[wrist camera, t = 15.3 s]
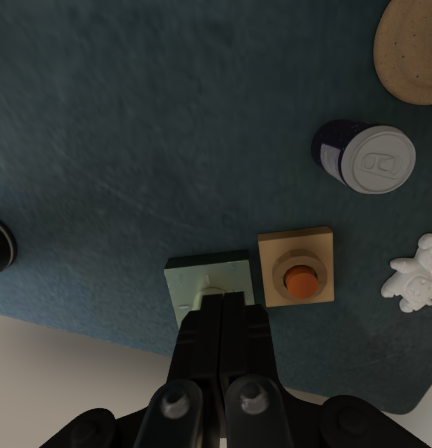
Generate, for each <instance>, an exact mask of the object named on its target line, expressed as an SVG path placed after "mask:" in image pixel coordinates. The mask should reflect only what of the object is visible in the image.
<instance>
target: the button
mask: <svg viewBox="0 0 432 448" xmlns="http://www.w3.org/2000/svg"><path fill="white" fill-rule="evenodd" d="M285 281H286V285H287V288H288V291H289V293H290V294H291V295H292V296H293V297H295V298H299V299H305V298H309V297H311V296H312V295H314V294H315V293H316V291H317V289H318V281H317V279H316V277H315V275H314V272H313V271H312V270H311V269H310V268H308V267H306V266H296V267H293V268H292V269H290V270H289V271H288V272H287V274H286V277H285Z"/></svg>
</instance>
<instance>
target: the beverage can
mask: <svg viewBox="0 0 432 448" xmlns="http://www.w3.org/2000/svg"><path fill="white" fill-rule="evenodd" d="M311 152H312V157H313V159H314V161H315V162H316V164H317V165H318V166H319V167H321V168H322V169H324V170H325V171H326V172H328V173H329V174H331V175H332V176H333V177H335V178H336V179H338V180H339V181H341V182H342V183H343V184H345V185H346V186H348V187H349V188H351V189H352V190H354V191H356V192H358V193H362V194H382V193H386V192H389V191H392V190H394V189H396V188H397V187H399V186H400V185H401V184H403V183H404V182H405V181H406V180H407V178H408V177H409V176H410V174H411V172H412V170H413V168H414V165H415V160H416V153H415V148H414V146H413V144H412V142H411V141H410V140H409V138H408V137H407V136H406V135H405V133H404V132H403V131H401V130H400V129H398V128H396V127H394V126H391V125H385V124H377V123H368V122H359V121H350V120H334V121H331V122H329V123H327V124H325V125H324V126H322V127H321V128H320V129H319V130H318V132H317V133H316V135H315V136H314V138H313V141H312V146H311Z"/></svg>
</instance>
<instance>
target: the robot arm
mask: <svg viewBox="0 0 432 448" xmlns="http://www.w3.org/2000/svg"><path fill="white" fill-rule="evenodd" d="M16 253H17V249H16V243H15V240H14V238H13V236H12V234H11V232H10V231H9V229H8V228H7V227H6V226H5V225H4V224H3V223H2V222H1V221H0V272H2V271H3V270H5V269H6V268H8V267H9V266H10V265H11V264H12V263H13V262H14V260H15V257H16ZM220 438H227V448H431V447H430V446H428V445H427V444H426V443H424V442H423V441H421V440H420V439H419V438H417V437H416V436H414V435H413V434H412V433H410V432H409V431H407V430H406V429H405V428H403V427H402V426H400V425H399V424H397V423H396V422H395V421H393V420H392V419H391V418H389V417H388V416H386V415H385V414H384V413H382V412H381V411H379V410H378V409H377V408H375V407H374V406H372V405H371V404H369V403H368V402H366V401H364V400H362V399H360V398H357V397H354V396H349V395H338V396H334V397H331V398H329V399H328V400H327V401H325V402H324V403H323V405H317V404H314V403H310V402H306V401H303V400H300V399H298V398H296V397H294V396H293V395H291V394H290V393H288V392H287V391H286V390H285V388H284V387H283V386H282V384H281V383H280V381H279V378H278V374H277V368H276V362H275V355H274V349H273V343H272V337H271V330H270V324H269V318H268V313H267V312H266V310H265V309H264V308H263V307H262V305H261V304H255V305H246V299H245V293H244V291H240V292H230V293H224V295H223V293H220V294H210V295H203V296H202V302H201V307H200V310H192V311H189V312H188V313H187V315H186V316H185V317H184V319H183V320H182V321H181V325H180V329H179V335H178V337H177V341H176V345H175V349H174V353H173V357H172V361H171V365H170V369H169V373H168V377H167V381H166V384H164V385H163V386H161V387H160V388H159V389H158V390H157V391H156V392H155V393H154V395H153V397H152V398H151V401H150V403H149V405H148V406H147V407H146V408H144V409H142V410H139V411H137V412H134V413H132V414H129V415H126V416H124V417H121V418H118V419H115V417H114V415H113V414H112V413H111V412H110V411H109V410H107V409H104V408H95V409H91V410H88V411H86V412H84V413H82V414H80V415H79V416H77V417H76V418H75V419H73V420H72V421H71V422H70V423H68V424H67V425H66V426H65V427H63V428H62V429H61V430H60V431H59V432H58V433H56V434H55V435H54V436H53V437H51V438H50V439H49V440H48V441H47V442H45V443H44V444H43V445H42V446H40V447H39V448H219V446H220Z"/></svg>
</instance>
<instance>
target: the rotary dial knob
mask: <svg viewBox="0 0 432 448" xmlns="http://www.w3.org/2000/svg"><path fill="white" fill-rule="evenodd" d="M220 293H223V295H224V293H226V292H225V291H223V290H221V289H218V288H207V289H204V290H202V291H200V292H199V293H198V294H197V295H196V297H195V299H194V303H193V308H192V310H200V307H201V302H202V296H203V295H210V294H220Z"/></svg>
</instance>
